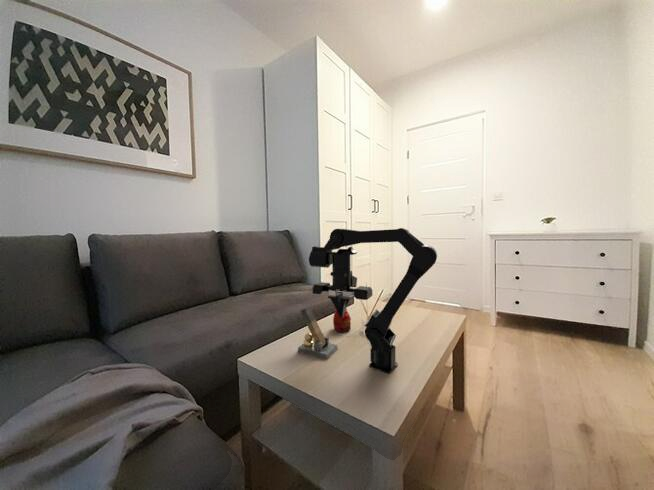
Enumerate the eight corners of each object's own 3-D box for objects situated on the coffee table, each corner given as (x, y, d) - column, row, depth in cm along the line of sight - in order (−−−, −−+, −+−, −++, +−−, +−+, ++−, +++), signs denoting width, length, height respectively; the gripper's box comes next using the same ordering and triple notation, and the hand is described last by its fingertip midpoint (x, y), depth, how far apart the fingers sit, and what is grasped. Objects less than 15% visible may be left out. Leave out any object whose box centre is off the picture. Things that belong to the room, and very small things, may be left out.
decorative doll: (341, 334, 98) (340, 296, 97) (329, 329, 103) (328, 293, 103) (354, 329, 103) (354, 293, 102) (342, 324, 108) (342, 290, 108)
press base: (337, 349, 86) (337, 333, 85) (327, 359, 79) (326, 342, 79) (309, 342, 91) (309, 328, 91) (298, 351, 84) (297, 336, 84)
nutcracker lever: (327, 343, 85) (309, 306, 87) (322, 347, 82) (304, 308, 85) (322, 345, 86) (305, 308, 88) (318, 349, 83) (300, 310, 86)
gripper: (377, 266, 82) (377, 313, 83) (327, 264, 90) (327, 306, 91) (366, 271, 72) (366, 325, 73) (311, 268, 81) (311, 315, 81)
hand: (341, 317), depth 80 cm, fingers closed
